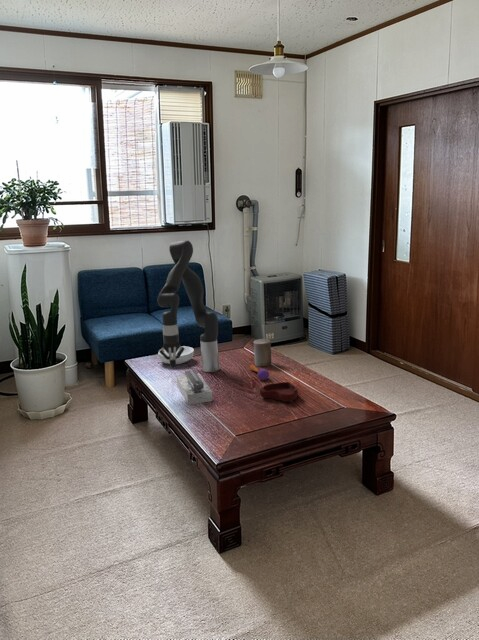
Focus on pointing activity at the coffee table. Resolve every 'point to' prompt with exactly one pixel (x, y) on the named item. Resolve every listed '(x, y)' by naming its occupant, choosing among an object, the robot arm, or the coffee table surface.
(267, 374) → the kendama
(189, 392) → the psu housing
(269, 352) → the pillar candle
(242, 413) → the coffee table surface
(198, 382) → the bar
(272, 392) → the ashtray
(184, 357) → the serving bowl
